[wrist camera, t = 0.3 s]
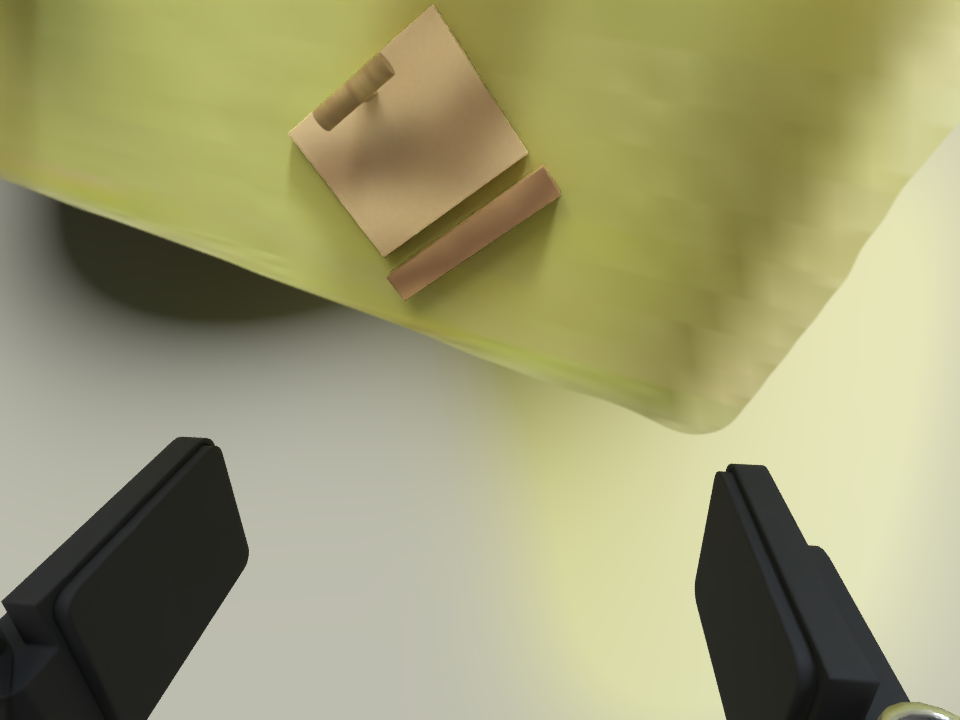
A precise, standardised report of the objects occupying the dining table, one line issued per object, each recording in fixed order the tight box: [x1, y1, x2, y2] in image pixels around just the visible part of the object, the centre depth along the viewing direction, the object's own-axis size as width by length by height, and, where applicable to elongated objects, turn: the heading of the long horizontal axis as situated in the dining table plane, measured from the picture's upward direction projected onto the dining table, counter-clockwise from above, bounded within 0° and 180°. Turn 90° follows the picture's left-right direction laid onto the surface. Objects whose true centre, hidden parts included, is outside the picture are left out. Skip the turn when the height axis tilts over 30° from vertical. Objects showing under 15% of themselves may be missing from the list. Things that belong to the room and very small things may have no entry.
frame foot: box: [387, 164, 561, 300], centre depth 45 cm, size 2×15×2 cm, turn 126°
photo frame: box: [288, 5, 528, 257], centre depth 41 cm, size 12×14×5 cm
